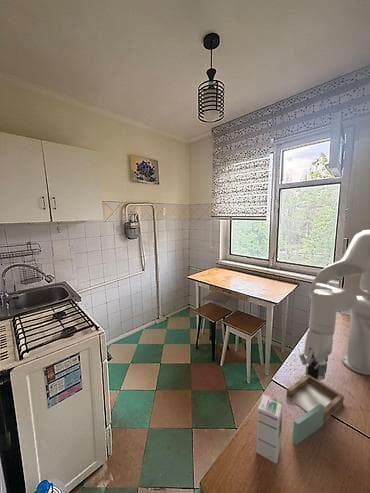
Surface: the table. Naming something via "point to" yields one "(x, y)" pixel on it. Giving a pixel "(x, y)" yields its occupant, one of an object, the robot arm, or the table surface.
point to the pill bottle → (321, 369)
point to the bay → (315, 396)
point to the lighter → (304, 361)
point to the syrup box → (269, 428)
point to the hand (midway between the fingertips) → (316, 373)
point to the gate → (308, 424)
